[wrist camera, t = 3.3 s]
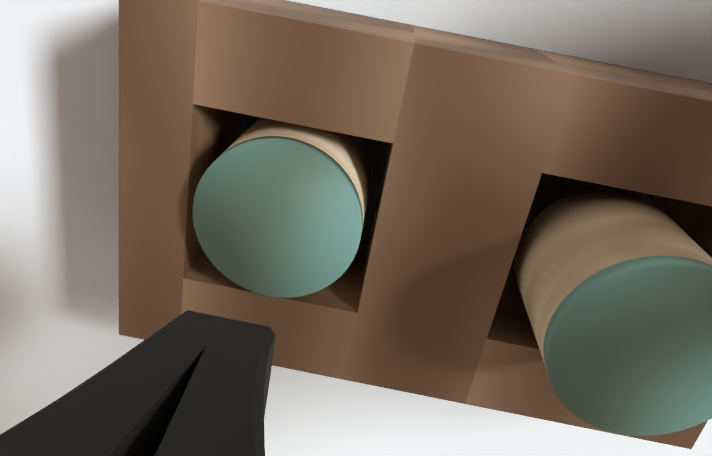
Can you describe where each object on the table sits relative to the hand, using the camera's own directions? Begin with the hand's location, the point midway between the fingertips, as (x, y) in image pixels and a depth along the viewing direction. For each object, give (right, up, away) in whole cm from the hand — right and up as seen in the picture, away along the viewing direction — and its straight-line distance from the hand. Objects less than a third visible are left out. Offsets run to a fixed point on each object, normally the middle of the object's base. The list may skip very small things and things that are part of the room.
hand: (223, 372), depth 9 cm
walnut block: (+4, +3, +9) cm, 11 cm away
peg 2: (+8, +1, +6) cm, 10 cm away
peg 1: (0, +4, +8) cm, 9 cm away
